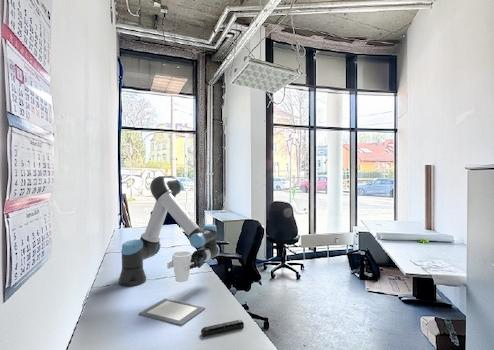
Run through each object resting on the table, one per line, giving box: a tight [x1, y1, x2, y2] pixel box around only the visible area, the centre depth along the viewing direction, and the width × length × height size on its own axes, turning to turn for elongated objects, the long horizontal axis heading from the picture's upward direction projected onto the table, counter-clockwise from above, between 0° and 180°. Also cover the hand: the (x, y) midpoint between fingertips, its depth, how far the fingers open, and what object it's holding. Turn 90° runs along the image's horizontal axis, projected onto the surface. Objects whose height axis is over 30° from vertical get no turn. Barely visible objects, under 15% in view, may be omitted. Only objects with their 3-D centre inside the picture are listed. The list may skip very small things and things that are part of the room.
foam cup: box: [171, 251, 192, 283], centre depth 159 cm, size 10×9×13 cm
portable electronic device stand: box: [200, 319, 245, 338], centre depth 130 cm, size 18×3×3 cm, turn 115°
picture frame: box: [138, 298, 206, 327], centre depth 147 cm, size 24×18×1 cm
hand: (176, 267), depth 155 cm, fingers closed on foam cup, 9 cm apart
